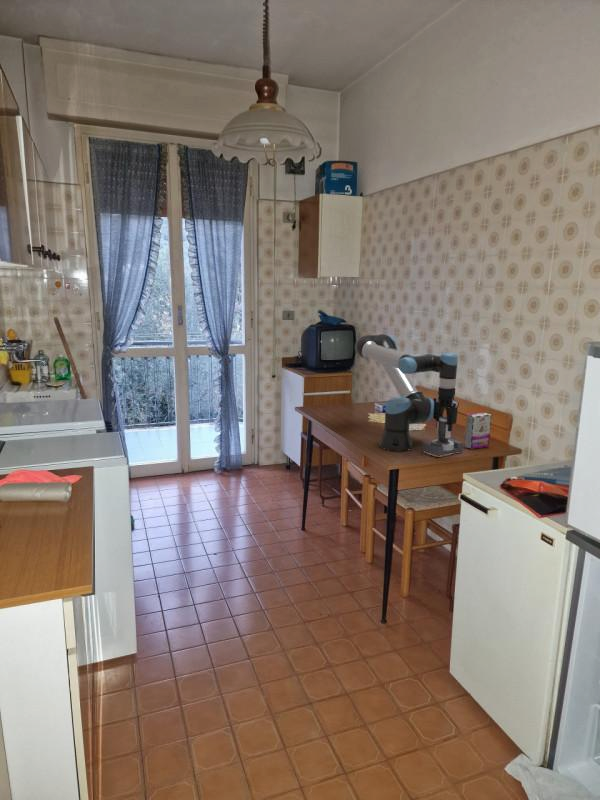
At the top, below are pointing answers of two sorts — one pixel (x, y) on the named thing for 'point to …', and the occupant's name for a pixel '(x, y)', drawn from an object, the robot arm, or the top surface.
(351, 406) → the top surface
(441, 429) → the lens
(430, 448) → the camera body
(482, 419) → the candy bar box
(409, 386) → the robot arm
